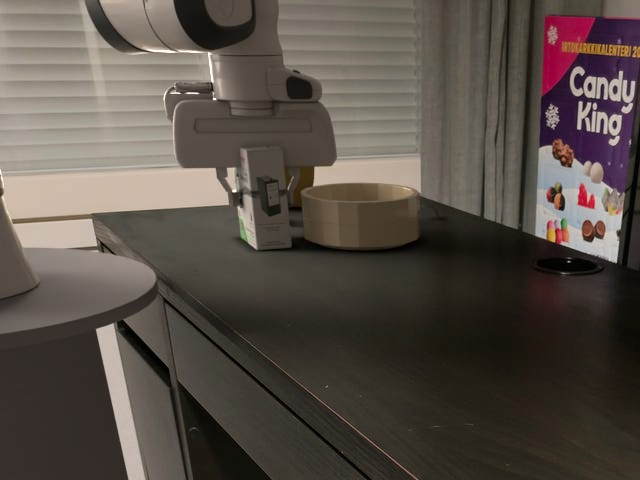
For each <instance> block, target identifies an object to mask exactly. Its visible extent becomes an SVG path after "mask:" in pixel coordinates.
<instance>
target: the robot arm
mask: <svg viewBox="0 0 640 480" xmlns="http://www.w3.org/2000/svg"><path fill="white" fill-rule="evenodd" d="M83 2H84V6H85V9H86V12H87V14H88V17H89V19H90V21H91V22H92V25H93V26H94V28H95V29H96V31H97V33H98V34H99V35H100V36H101V38H102V39H103V40H104V41H105V42H106V43H107V44H108V45H109V46H110V47H111V48H113V49H115V50H116V51H118V52H119V53H121V54H126V55H131V56H133V55H143V54H152V53H158V52H159V53H178V54H185V53H201V54H204V53H208V62H209V70H210V76H211V77H210V78H211V81H210V82H209V81H206V82H204V81H203V82H198V81H197V82H190V83H188V82H184V81H183V82H182V81H179V82H174V83H173V85H172V86H170V87H168V88H167V89H166V91H165V92H164V95H163V104H164V105H163V106H164V111H165V115H166V117H167V120H168V121H169V122H170V123H171V125H172V143H173V155H174V160H175V162H176V163H177V164H178V166H179V167H181V168H182V169H215V173H216V175H215V176H216V179H217V180H218V182H219V184H220V185H221V186H222V187H223V189H224V190H225V193H227V200H228V206H229V207H230V208H233V207H234V208H235V207H237V208H238V206H241V203H240V194H239V190H236V189H233V188H232V186H231V185H230V183H229V182H228V180H227V178H228V177H229V173H228V171H229V170H228V169H233V168H241V158H240V148H241V147H261V146H279V147H281V148H282V150H283V159H284V167H288V172H289V176H290V177H292V179H291V181H290V183H289V186H288V188H287V189H286V191H287V202H288V205H294V196H293V191H294V190H295V187H296V185H297V183H298V181H299V178H300V167H314V168H319V167H332V166H334V164H335V163H336V161H337V159H338V154H337V145H336V137H335V131H334V127H333V122H332V118H331V115H330V112H329V111H328V109H327V107H326V105H324V104H323V103H322V102H321V99H322V97H323V87H322V83H321V82H320V81H319V80H318V79H317V78H315V77H313V76H310V75H307V74H304V73H301V72H300V70H297V69H294V68H292V69H290V68H287V67H286V66H285V63H284V52H283V47H282V45H281V41H280V39H279V33H278V32H279V31H278V21H279V14H280V8H279V7H280V6H279V0H83ZM173 91H174V92H173ZM3 178H4V177H3V174H2V169H1V168H0V299H2V298H6V297H10V296H14V295H17V294H20V293H23V292H26V291H28V290H30V289H32V288H34V287H36V286H37V285H38V284H39V282H40V280H39V278H38V276H37V274H36V273H35V271H34V269H33V267H32V265H31V264H30V262H29V260H28V258H27V256H26V253H25V251H24V249H23V245H22V242H21V241H20V238H19V235H18V233H17V231H16V228H15V224H14V223H13V220H12V218H11V215H10V212H9V209H8V205H7V204H6V200H5V197H4V194H5V189H4V188H5V183H4V179H3Z"/></svg>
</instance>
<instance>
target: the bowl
mask: <svg viewBox="0 0 640 480" xmlns="http://www.w3.org/2000/svg"><path fill="white" fill-rule="evenodd" d="M300 195H301V206H302V207H301V217H302V228H303V229H302V230H303V237H304V239H305V240H307V241H308V242H311V243H314V244H317V245H320V246H322V247H325V248H329V249H336V250H345V251H377V250H388V249H394V248H398V247H402V246H405V245H406V244H409V243H412V242H414V241H416V240H418V239H419V238H420V237H421V215H420V214H421V213H420V210H421V206H420V205H421V203H420V192H419V190H418V189H416V188H413V187H411V186H406V185H401V184H393V183H381V182H337V183H327V184H317V185H313V186H312V187H309V188H305V189H304V190H302V191H301V192H300Z"/></svg>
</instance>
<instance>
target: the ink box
mask: <svg viewBox="0 0 640 480" xmlns="http://www.w3.org/2000/svg"><path fill="white" fill-rule="evenodd" d="M240 158H241V168H232V171H233V172H232V173H233V179H234V188H235V189H234V190H239V194H240V203H241V206H237V215H238V223H239V232H240V233H239V234H240V238H241V239H242V240H244V241H245V242H246V243H247V244H248V245H250V246H251V247H252V248H254V249H255V250H256V251H264V250H275V249H289V248H292V246H293V244H292V235H291V233H292V232H291V225H290V214H289V207H288V202H287V191H286V180H285V169H284V159H283V150H282V148H281V147H279V146H261V147H241V148H240Z"/></svg>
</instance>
